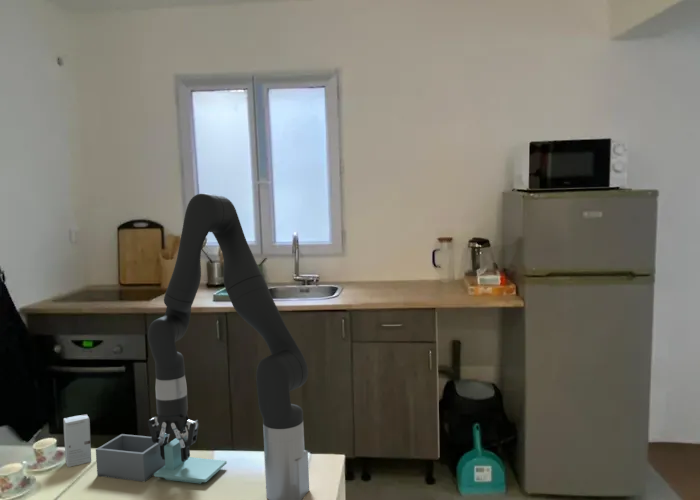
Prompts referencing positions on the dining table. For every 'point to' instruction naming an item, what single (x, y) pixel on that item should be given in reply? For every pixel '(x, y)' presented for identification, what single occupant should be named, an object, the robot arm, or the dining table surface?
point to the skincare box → (77, 440)
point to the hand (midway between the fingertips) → (175, 459)
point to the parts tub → (129, 458)
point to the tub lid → (187, 466)
